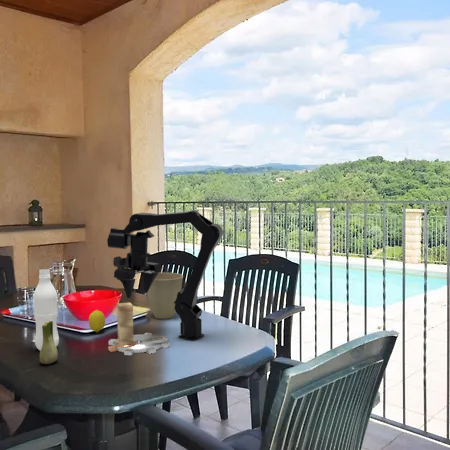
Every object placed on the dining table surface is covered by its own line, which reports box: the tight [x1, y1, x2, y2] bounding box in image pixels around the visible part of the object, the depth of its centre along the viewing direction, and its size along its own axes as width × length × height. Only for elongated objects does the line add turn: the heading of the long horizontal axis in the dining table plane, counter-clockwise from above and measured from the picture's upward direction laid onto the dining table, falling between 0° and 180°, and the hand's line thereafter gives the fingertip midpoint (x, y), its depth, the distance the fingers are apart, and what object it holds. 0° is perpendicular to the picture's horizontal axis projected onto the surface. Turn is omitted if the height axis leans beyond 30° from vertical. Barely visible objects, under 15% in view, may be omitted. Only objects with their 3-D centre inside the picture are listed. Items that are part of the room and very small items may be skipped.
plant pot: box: [146, 272, 184, 320], centre depth 202 cm, size 15×15×16 cm
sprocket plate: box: [107, 332, 170, 356], centre depth 167 cm, size 19×19×1 cm
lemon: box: [88, 309, 106, 333], centre depth 182 cm, size 6×6×8 cm
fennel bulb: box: [39, 321, 59, 365], centre depth 151 cm, size 6×5×12 cm
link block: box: [116, 302, 134, 346], centre depth 164 cm, size 4×4×12 cm
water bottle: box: [32, 268, 60, 352], centre depth 163 cm, size 7×7×25 cm
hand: (137, 295), depth 178 cm, fingers open, 9 cm apart
